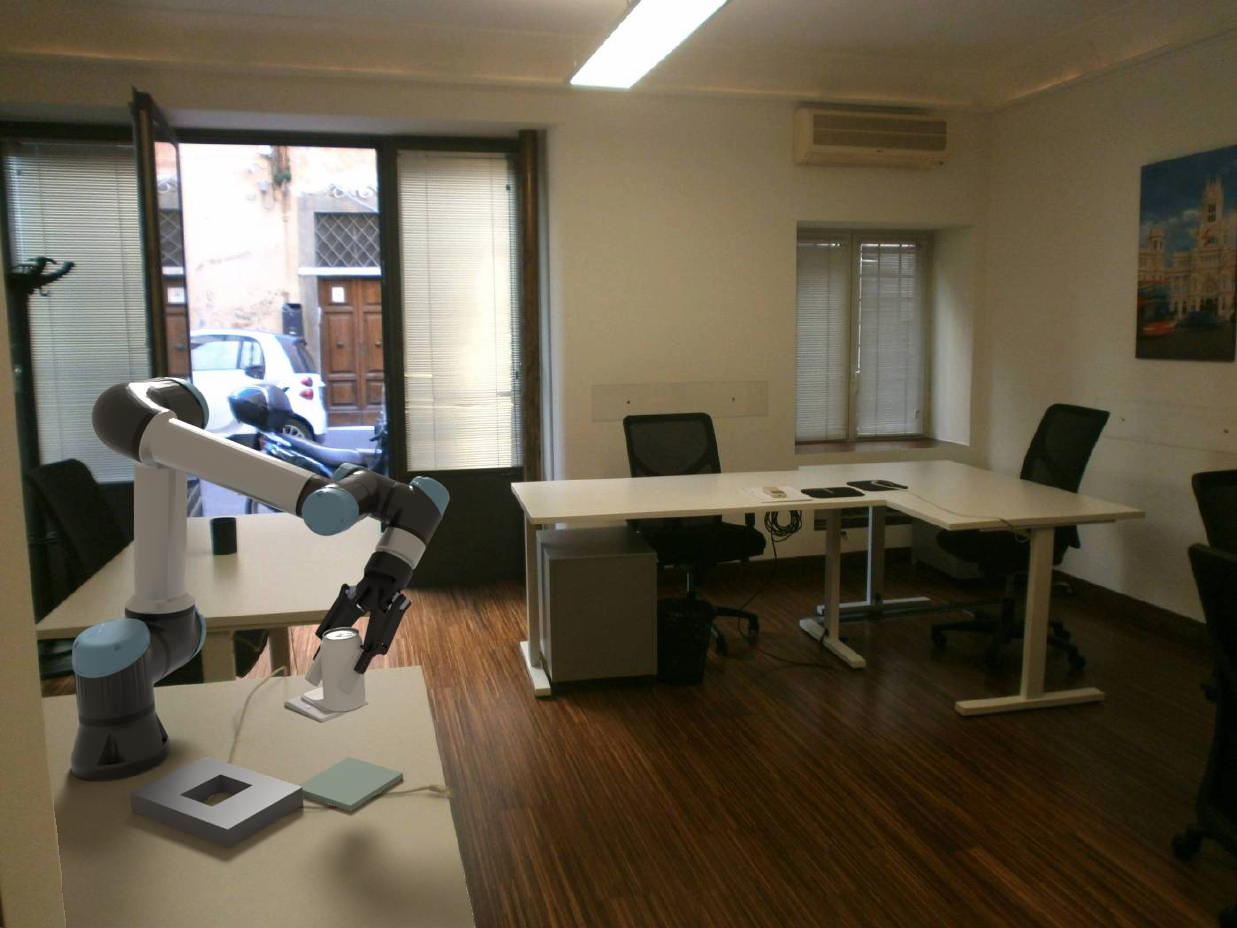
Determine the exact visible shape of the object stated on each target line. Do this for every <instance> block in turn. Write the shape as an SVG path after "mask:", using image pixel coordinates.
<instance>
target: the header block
mask: <svg viewBox="0 0 1237 928" xmlns="http://www.w3.org/2000/svg"><path fill="white" fill-rule="evenodd" d="M298 785H299V784H298ZM298 785H297V784H294V783H291V782H289V781H286V780H285V781H284V780H282V779H279V778H275V777H273V776H270V775H266V774H263V773H260V772H258V771H254V770H251V769H249V768H245V767H242V766H239V765H236V764H233V763H229V762H227V761H224V760H220V759H218V758H213V757H211V756H204V757H202V758H200V759H198V760H195V761H193V762H192V763H190V764H187V765H186V766H185V765H184V766H183V767H181V768H180V769H177V770H175V771H173V772H171V773H169V774H167V775H165V776H163V777H161V778H158V779H157V780H154V781H152V782H150V783H148V784H146V785H144V786H142V787H140V788H138V789H137V788H136V790H133V791H131V792H129V796H130V797H129V798H130V807H131V812H133V811H135V812H137V813H136V814H138V813H139V815H141V814H142V815H141V816H144V817H147V818H148V819H151V820H154V821H156V822H159V823H162V824H164V825H168V826H170V827H172V828H173V829H177V830H179V831H183V832H184V833H187V834H190V835H193V836H195V837H198V838H200V839H203V840H206V841H208V842H210V843H213V844H216V845H219V846H221V847H223V848H227V849H231V848H233V847H235V846H236V845H238V844H240V843H241V842H243V841H245V840H246V839H249V838H250V837H251V836H253V835H255V834H256V833H259V832H260V831H262V830H264V829H265V828H267V827H268V826H270V825H272V824H274V823H276V822H277V821H278V820H280V819H282V818H283V817H286V816H287V815H289V814H291V813H292V812H294V811H295V810H297V809H298V808H300V806H301V807H302V806H304V796H303V790H302V787H301V786H298ZM220 793H225V794H227V795H229V796H231V797H229V798H228V797H227V798H226V799H224V800H222V801H221V802H219V803H217V804H215V805H213V806H211V805H208V804H206V803H203V802H206V801H207V800H208V798H209V797H211V796H213V795H214V796H217V795H218V794H220ZM233 795H234V796H233ZM214 796H213V797H214ZM211 798H212V797H211ZM209 799H210V798H209ZM135 812H134V813H135Z"/></svg>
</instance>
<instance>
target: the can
mask: <svg viewBox="0 0 1237 928" xmlns="http://www.w3.org/2000/svg"><path fill="white" fill-rule="evenodd" d="M363 643H364V641H363V639H362V636H360V630H358V629H357V628H354V627H351V628H336V629H332V630H329V631H326V632H325V633H323V640H322V642H321V641H320V644H321V667H322V679H321V681H322V687H323V700H324V707H325V708H326V709H327V710H329V711H331V712H338V713H342V712H349V713H351V712H353V711H357V710H359V709H361V708H360V707H362V706H363V704H364V703H365V700H366V685H365V683H366V680H365V679H366V677H365V673H364V674H363V675H362V674H361V675H360V677H359V679H358V681H357V683H356V685H355V687H354V689H353V691H352V693H351V695H348V694H346V693H345V692H343V691H342V690H341V689H339V688H338V687H337V686H338V684H339V682H340V680H341V678H342V677H343V675H344V673H345V671H346V669H347V667H348V665H349V663H350V661H351V659H352V658H353V656H354V654H355V652H356V650H357V649H360V650H362V651H363V649H362V648H360V645H361V646H362V645H363ZM362 708H363V707H362ZM350 711H351V712H350Z"/></svg>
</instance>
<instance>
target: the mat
mask: <svg viewBox="0 0 1237 928" xmlns="http://www.w3.org/2000/svg"><path fill="white" fill-rule="evenodd" d="M400 779H401V780H403V779H404V773H403V772H401V771H398V770H395V769H392V768H388V767H385V766H381V765H378V764H374V763H370V762H368V761H364V760H361V759H358V758H355V757H354V758H353V757H351V756H348V757H346V758H344V759H343V760H341V761H339V762H337V763H335V764H333V765H331V766H330V767H328V768H326V769H324V770H323V771H321V772H319V773H317V774H315V775H314V776H312V777H310V778H308V779H307V780H305V781H303V782H301V783H300V784H298V786H301V787H302V790H303V795H304V796H303V797H305V796H306V798H308V797H309V799H311V798H312V799H311V800H314V801H318V802H320V803H323V802H325V803H324V804H326V803H329V804H332V805H335V806H338V807H339V809H342V810H345V811H347V810H348V812H351V813H352V810H353V811H354V810H356V809H357V808H359V807H361V806H362V805H364V804H365V803H367V802H368V801H370V800H371V799H372V798H371V797H372V796H373V795H375V794H377V793H379V792H381V793H383V792H384V791H386V790H387V789H389V788H390V787H392V786H393V784H394V783H395V784H396V782H397V781H398V782H400V781H401V780H400ZM399 780H400V781H399ZM398 782H397V783H398ZM395 784H394V785H395ZM388 787H389V788H388ZM386 788H387V789H386ZM385 789H386V790H385ZM383 790H384V791H383ZM382 791H383V792H382ZM379 794H380V793H379ZM370 798H371V799H370ZM369 799H370V800H369ZM367 800H368V801H367ZM366 801H367V802H366ZM364 802H365V803H364ZM363 803H364V804H363ZM329 804H328V805H329ZM332 805H331V806H332ZM335 806H334V807H335ZM338 807H337V808H338Z"/></svg>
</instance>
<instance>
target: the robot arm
mask: <svg viewBox="0 0 1237 928" xmlns="http://www.w3.org/2000/svg"><path fill="white" fill-rule="evenodd" d="M209 419H210V409H209V404H208V401H207V400H206V397H205V396H204V394H203V393H202V392H201V391H200V390H199V389H198V388H197V386H196V385H194V384H193V383H191V382H190V381H188V380H185V379H183V378H179V377H167V376H165V377H163V376H162V377H159V376H158V377H154V378H153V377H152V378H149V379H143V380H136V381H126V382H122V383H117V384H114V385H113V386H110V387H109V388H107V389H106V390H104V391H103V392H102V393H101V394H100V395H99V396H98V398H97V399H96V401H95V403H94V405H93V407H92V412H91V424H92V428H93V430H94V432H95V434H96V436H97V438H98V439H99V440H100V441H101V442H102V444H103V445H105V446H106V447H107V448H109V449H110V450H111V451H113V452H115V453H117V454H119V455H121V456H123V457H126V458H127V459H129V460H130V462H131V463H132V464H133V467H134V468H133V470H134V471H133V472H134V473H133V504H134V505H133V515H134V516H133V517H134V518H133V534H134V535H133V594H132V595H131V596H129V597H128V598H127V599H126V600H125V601H124V618H117V619H111V620H107V621H105V623H96V624H95V625H93V626H90V627H88V628H86V629H85V630H83V631H82V632H80V633H79V635H77V637H76V638H75V640H74V641H73V644H72V650H71V651H72V652H71V653H72V656H71V657H72V658H71V667H72V670H73V676H74V685H75V686H74V687H75V688H74V689H75V696H76V706H77V713H78V728H77V731H76V736H75V740H74V743H73V748H72V752H71V756H70V767H71V768H70V769H71V772H72V774H73V775H74V776H75V777H77V778H79V779H82V780H85V781H98V780H99V781H113V780H118V779H125V778H127V777H128V778H129V777H132V776H135V775H139V774H141V773H144V772H147V771H149V770H152V769H153V768H155V767H157V766H159V765H160V764H162V763H164V762H165V760H167V759H168V757H169V756H170V753H171V743H170V737H169V734H167V731H166V729H165V726H164V725H163V723H162V721H161V718H160V717H159V715H158V712H157V710H156V702H155V689H154V687H155V686H154V685H155V684H156V683H158V682H159V681H161V680H162V679H163V678H165V677H166V676H168V675H170V674H171V673H172V672H174V671H176V670H177V669H179V668H182V667H183V666H185V665H187V663H188V662H190V661H191V660H192V659H193V658H194V657H195V656H196V655H197V654H198V653H199V652H200V650H201V649H202V648H203V646H204V643H205V640H206V636H207V623H206V620H205V618H204V615H203V614H201V613H200V612H199V608H197V606H196V598H195V597H194V596H193V595H192V594H190V593H189V592H188V591H187V555H188V554H187V551H188V550H187V548H188V546H187V542H188V535H187V534H188V528H187V527H188V526H187V525H188V476H192V477H193V478H198V479H199V480H202V481H204V482H208V483H209V484H211V485H214V486H217V487H219V488H223V489H225V490H228V491H230V492H233V493H234V494H238V495H241V496H243V497H246V498H248V499H250V500H253V501H256V502H258V503H262V504H264V505H265V506H269V507H271V508H274V509H277V510H280V511H282V512H283V513H284V512H285V513H287V514H289V515H292V516H294V517H297V518H300V519H302V520H303V522H304V525H306V526H307V527H308V529H309V531H311V532H312V533H314V534H316V535H319V536H322V537H330V536H335V535H337V534H338V535H339V534H341V533H343V532H345V531H348V530H350V529H351V527H353V526H354V525H356V524H357V523H359V522H361V521H363V520H364V519H366V518H367V517H368V518H371V519H373V520H376V521H378V522H381V523H383V524H386V525H387V526H386V528H385V529H384V531H383V534H382V535H381V537H380V538H379V540H378V542H377V544H376V545H375V546H374V547H375V548H374V550H375V551H374V552H372V553H371V555H370V557H369V559H368V561H367V562H366V563H365V566H364V568H363V577H362V579H361V580H360V581H359V582H358V583H356V584H355V585H349V584H348V583H347V582H346V583H343V584H341V586H340V590H339V593H338V596H337V597H336V598H335V600H334V602H333V604H331V607H330V609H329V610H328V612H327V613H326V615H325V616H324V618H323V619H322V620H321V622H320V624H319V626H318V628H317V629H316V631H314V632H315V633H314V635H315V636H316V637H317V638H318V639H320V644H319V646H318V648H317V649H316V652H315V653H314V655H313V657H312V661H313V662H312V663H311V665H310V668H309V669H308V670H307V672H306V675H305V676H304V680H306V681H307V682H308V683H309V684H311V685H312V686H314V687H317V688H319V685H320V684H321V681H322V667H321V642H322V640H323V633H325V632H326V631H329V630H332V629H336V628H353V626H354V625H355V623H356V622H357V621H358V620H359V619H361V617H364V616H366V614H367V613H368V612H369V613H370V614H369V618H368V622H367V626H366V630H365V634H364V635H365V636H364V640H363V645H362V646H361V645H360V648H362V649H363V651H362V650H360V649H357V650H356V652H355V654H354V656H353V658H352V659H351V661H350V663H349V665H348V667H347V669H346V671H345V673H344V675H343V677H342V678H341V680H340V682H339V684H338V686H337V687H338V688H339V689H341V690H342V691H343V692H345V693H346V694H348V695H351V693H352V691H353V689H354V687H355V685H356V683H357V681H358V679H359V677H360V675H361V674H362V675H363V674H364V675H365V673H366V672H367V670H368V668H369V666H370V664H371V662H372V659H374V657H376V656H379V655H381V656H386V655H387V654H388V652H389V650H390V647H391V646H392V643H393V641H394V637H395V635H396V634H397V632H398V629H399V627H400V624H401V622H402V621H403V620H402V619H403V617H404V614H405V613H406V612H407V611H408V609H409V608H410V607H411V605H412V601H411V600H410V599H409V598H408V597H407V596H406V595H405V594H404V593H402V592H403V591H404V590H405V589H406V587H407V586H408V584H409V582H410V580H411V578H412V576H413V574H414V569H416V567H417V566H418V564H419V563H420V561H421V559H422V556H423V554H424V552H425V551H426V548H427V546H428V545H429V542H430V541H431V538H432V537H433V535H434V533H435V532H436V529H437V527H438V525H439V524H440V522H441V521H442V519H443V516H444V515H445V514H444V513H445V511H446V508H447V507H448V505H449V502H450V499H451V498H450V494H449V491H448V490H447V488H446V487H445V486H444V485H443V484H442V483H440V482H438V480H435V479H433V478H431V477H427V476H426V477H424V476H422V475H421V476H420V475H419V476H416V477H414V478H413V479H412V480H411V481H410V482H409V483H408V484H406V483H404V482H400V481H397V480H394V479H392V478H390V477H387V476H385V475H383V474H380V473H378V472H375V471H373V470H370V469H368V468H367V467H365V466H362V465H358V464H354V463H351V462H345V463H344V462H343V463H342V464H340V465H339V467H338V468H337V469H336V470H335V471H334V473H333V474H332V477H331V478H329V477H325V476H323V475H320V474H317V473H316V472H312V471H310V470H308V469H305V468H302V467H300V466H298V465H295V464H293V463H290V462H287V461H285V460H282V459H280V458H277V457H274V456H272V455H269V454H266V453H265V452H262V451H260V450H256V449H253V448H252V447H248V446H246V445H243V444H241V443H239V442H237V441H233V440H230V439H229V438H226V437H224V436H220V435H218V434H215V433H213V432H211V431H208V430H206V428H207V426H208V424H209ZM112 779H113V780H112Z"/></svg>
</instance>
